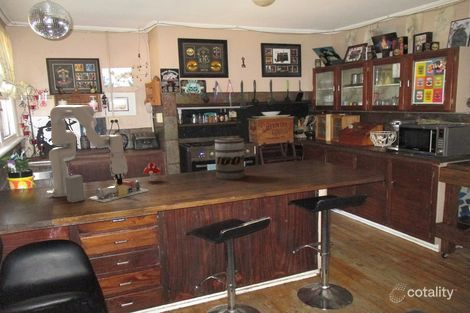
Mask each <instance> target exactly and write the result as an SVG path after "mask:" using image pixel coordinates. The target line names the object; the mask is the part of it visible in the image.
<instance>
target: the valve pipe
mask: <svg viewBox="0 0 470 313" xmlns="http://www.w3.org/2000/svg"><path fill="white" fill-rule="evenodd" d="M147 192H149V189H147V188H142V182H141V180H134V186H132V187H131V186H126V185H117V184H116V183H114V184H111V186H108V187H104V188H96V190H95V195H94V196H90V197H88V199H89V200H92V201H95V202H101V203H106V202H112V201H115V200H119V199H123V198H126V197H131V196H134V195H139V194H143V193H147Z"/></svg>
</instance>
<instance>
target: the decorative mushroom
mask: <svg viewBox="0 0 470 313" xmlns="http://www.w3.org/2000/svg"><path fill="white" fill-rule="evenodd" d="M161 172H162V170H161V169H160V168H159V167H157V165H156V163H154V162H151V161H150V162H149V163H148V165H147V166H146V167H145V168H144V170H143V172H142V174H144V175H149V178H148V181H149V182H156V181H157V177H156V174H159V173H161Z"/></svg>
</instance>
